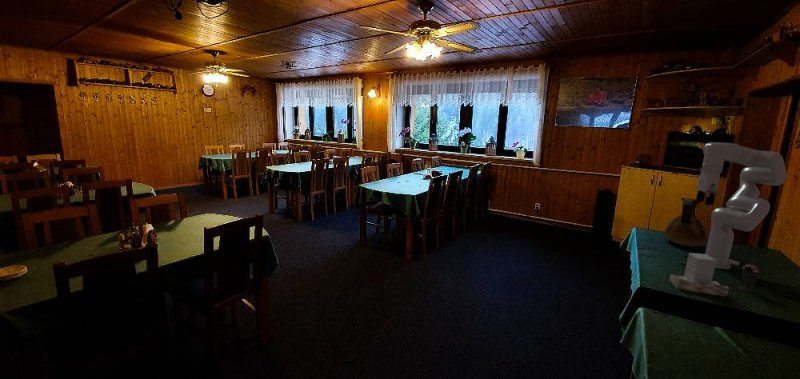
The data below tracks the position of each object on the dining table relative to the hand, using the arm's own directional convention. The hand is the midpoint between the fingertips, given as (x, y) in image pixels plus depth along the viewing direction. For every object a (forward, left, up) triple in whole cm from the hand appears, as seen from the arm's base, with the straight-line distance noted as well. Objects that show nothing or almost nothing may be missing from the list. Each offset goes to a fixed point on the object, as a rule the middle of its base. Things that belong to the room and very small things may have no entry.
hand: (704, 202), depth 170 cm
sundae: (-16, +16, -36) cm, 43 cm away
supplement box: (+5, +22, -34) cm, 41 cm away
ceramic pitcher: (-12, -45, -36) cm, 59 cm away
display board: (+5, +23, -36) cm, 43 cm away
